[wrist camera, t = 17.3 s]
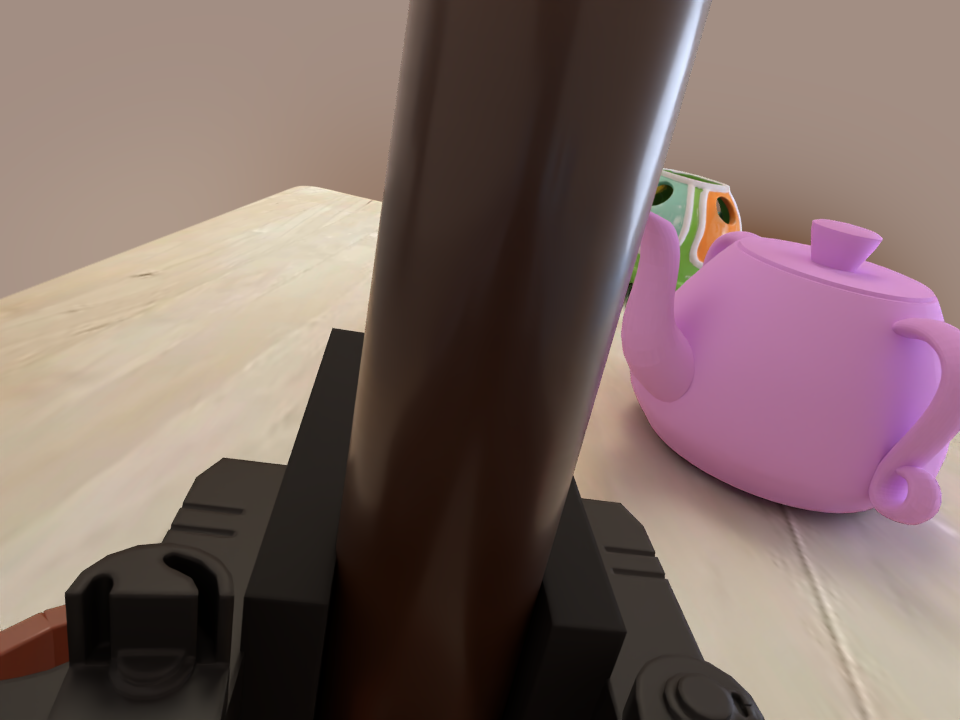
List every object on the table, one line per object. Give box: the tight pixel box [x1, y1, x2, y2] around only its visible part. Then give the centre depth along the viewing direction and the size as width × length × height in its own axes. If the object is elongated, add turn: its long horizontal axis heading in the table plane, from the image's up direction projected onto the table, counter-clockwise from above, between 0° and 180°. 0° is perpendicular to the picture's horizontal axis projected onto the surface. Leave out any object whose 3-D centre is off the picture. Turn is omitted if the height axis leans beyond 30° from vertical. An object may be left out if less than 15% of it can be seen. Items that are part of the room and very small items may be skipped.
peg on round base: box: [314, 0, 712, 720], centre depth 8 cm, size 6×6×18 cm
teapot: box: [621, 211, 960, 525], centre depth 38 cm, size 22×22×14 cm
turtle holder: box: [630, 168, 742, 292], centre depth 68 cm, size 12×18×12 cm
